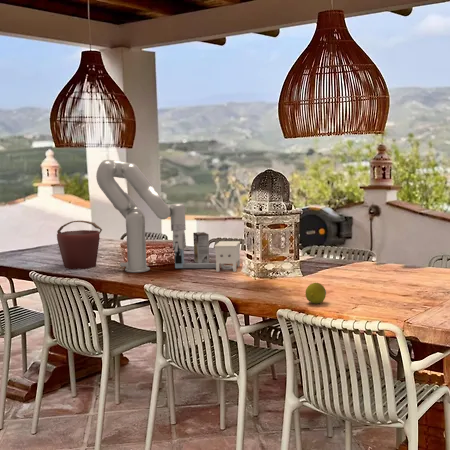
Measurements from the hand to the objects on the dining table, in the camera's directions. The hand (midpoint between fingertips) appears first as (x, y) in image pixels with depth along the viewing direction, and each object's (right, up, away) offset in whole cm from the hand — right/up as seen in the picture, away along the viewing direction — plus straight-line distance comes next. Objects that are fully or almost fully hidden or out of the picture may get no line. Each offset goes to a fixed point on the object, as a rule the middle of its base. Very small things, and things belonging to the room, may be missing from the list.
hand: (179, 262), depth 336 cm
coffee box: (+11, -1, +18) cm, 21 cm away
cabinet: (+25, -3, -3) cm, 26 cm away
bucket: (-54, -4, +14) cm, 56 cm away
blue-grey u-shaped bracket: (+9, -3, -1) cm, 9 cm away
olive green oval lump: (+59, -11, -84) cm, 103 cm away
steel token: (+25, -3, -3) cm, 25 cm away
